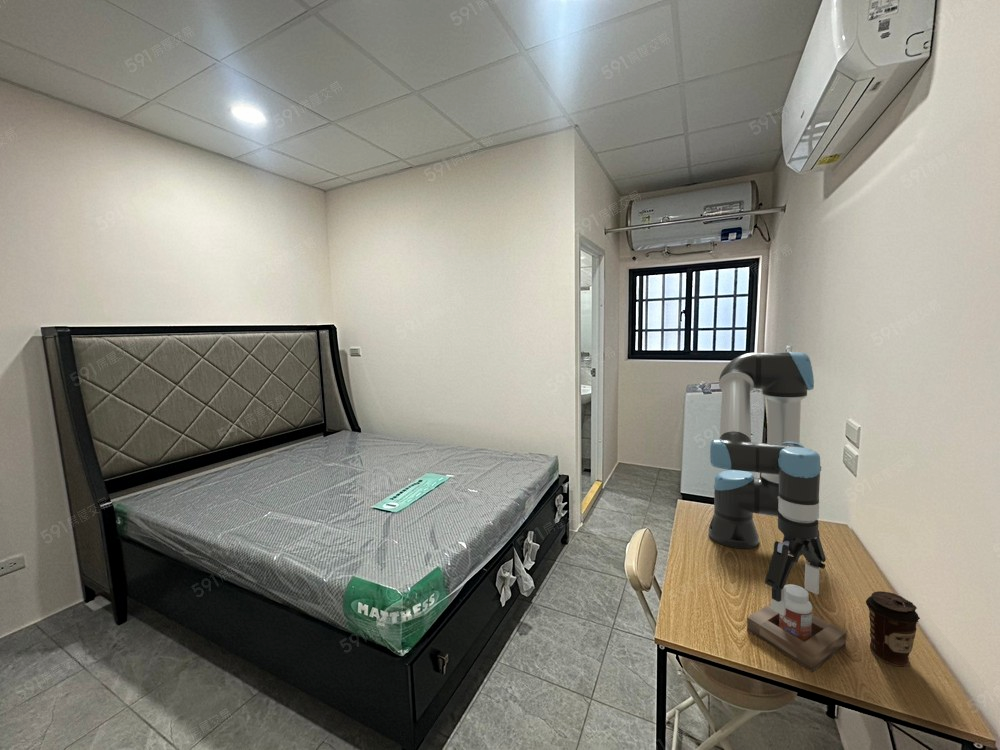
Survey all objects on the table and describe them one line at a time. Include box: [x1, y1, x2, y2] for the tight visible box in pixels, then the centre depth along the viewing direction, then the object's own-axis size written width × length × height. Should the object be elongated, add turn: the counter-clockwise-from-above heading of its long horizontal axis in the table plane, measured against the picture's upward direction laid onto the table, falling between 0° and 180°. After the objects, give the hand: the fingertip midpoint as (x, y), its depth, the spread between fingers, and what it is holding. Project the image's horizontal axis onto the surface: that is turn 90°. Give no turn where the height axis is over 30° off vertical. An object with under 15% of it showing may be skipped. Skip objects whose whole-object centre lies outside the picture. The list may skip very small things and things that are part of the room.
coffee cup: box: [865, 591, 921, 667], centre depth 89 cm, size 9×8×13 cm
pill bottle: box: [779, 583, 813, 642], centre depth 95 cm, size 6×6×11 cm
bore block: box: [746, 603, 847, 672], centre depth 96 cm, size 14×14×4 cm
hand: (795, 601), depth 95 cm, fingers open, 13 cm apart
